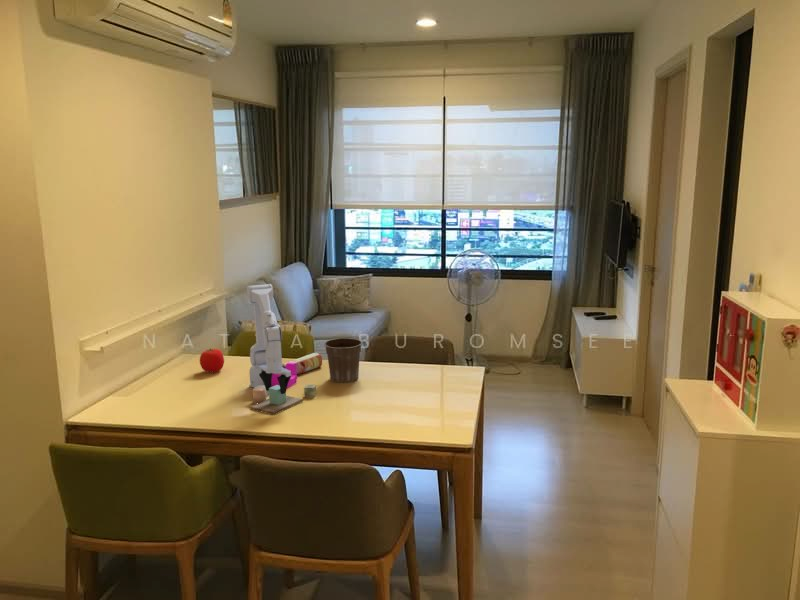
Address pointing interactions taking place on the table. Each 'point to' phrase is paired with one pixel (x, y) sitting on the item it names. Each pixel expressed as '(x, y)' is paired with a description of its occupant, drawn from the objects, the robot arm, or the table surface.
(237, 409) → the table surface
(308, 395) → the olive block
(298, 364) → the snack package
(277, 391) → the teal block
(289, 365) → the toy block
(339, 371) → the plant pot
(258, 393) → the peach rounded piece
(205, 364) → the tomato
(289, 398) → the board
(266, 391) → the grey cube
